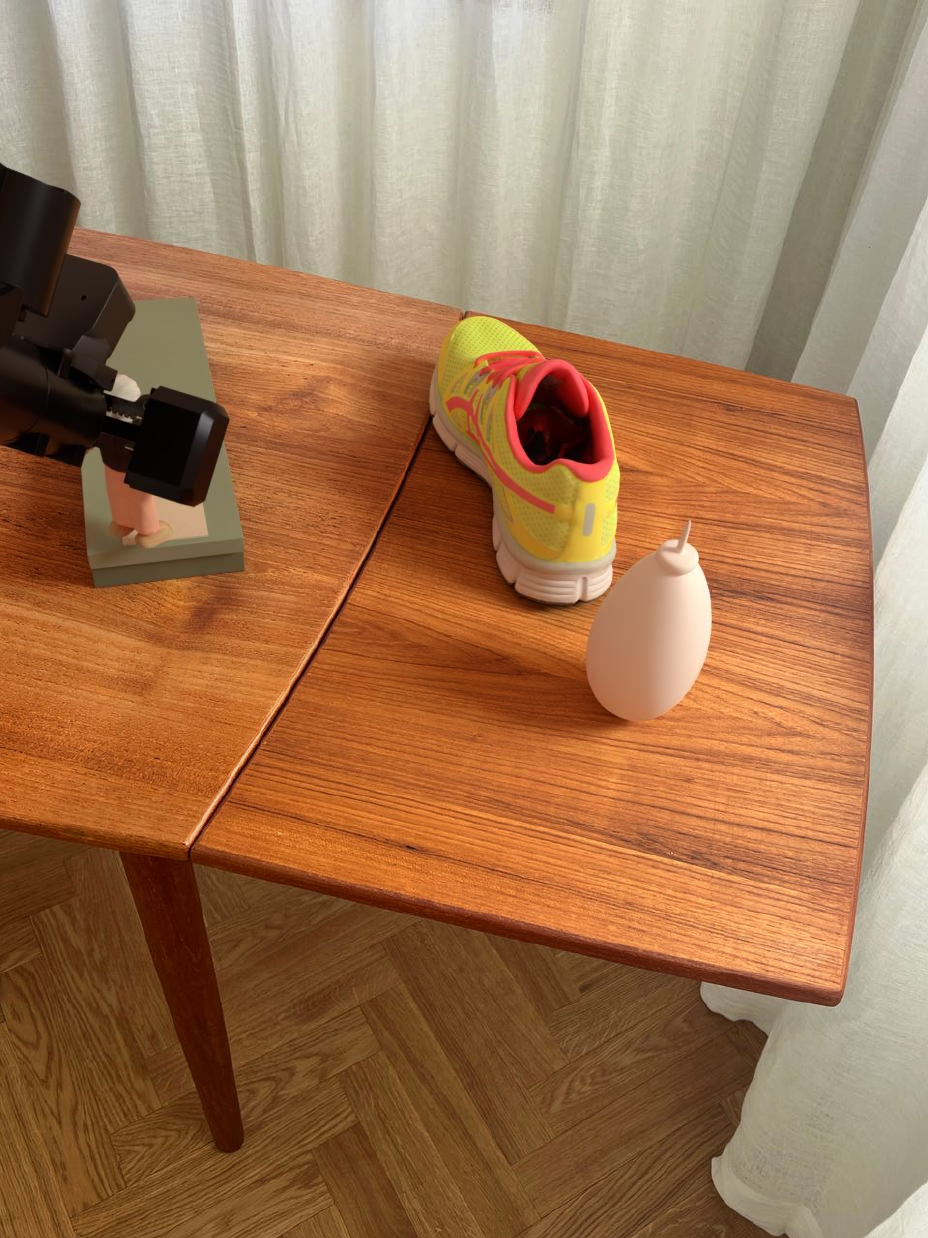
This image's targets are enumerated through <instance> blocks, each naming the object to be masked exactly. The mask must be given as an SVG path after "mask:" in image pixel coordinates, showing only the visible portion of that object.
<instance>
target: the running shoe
mask: <svg viewBox="0 0 928 1238" xmlns="http://www.w3.org/2000/svg"><path fill="white" fill-rule="evenodd" d="M431 376H432V377H431V381H430V387H429V397H428V398H429V400H428V403H429V416H430V418H432V424H433V429H434V430H435V434H436V435H437V436H438V437H439V438H440V440H441V442H442V443H443V445H444V447H445V448H446V449H447V450H448V451H449V452H450V453H454V455H455V457H457V461H458V463H460V464H461V465H462V466H463V467H465V468H466V469H469V470H470V471H472V472H473V473H475V475H476V477H478V478H479V479H480V480H481V481H482V482H483V483H484V484H486V486H487V487H488V488H489V490H491V491H492V500H493V502H492V503H493V507H492V508H493V518H492V548H493V552H494V553H496V554H495V559H496V561H495V562H496V566H497V569H498V571H499V572H500V575H501V576H502V578H503V580H504V581H505V582H506V583H507V584H508V585H510V586H512V585H514V589H515V593H516V594H517V595H519V596H522V597H523V598H526V599H529V600H531V601H534V602H537V603H541V604H545V605H551V606H552V605H553V606H560V607H561V606H573V605H575V603H576V602H577V601H579V602H581V603H583V604H589V603H591V602H594V601H595V600H598V599H599V598H601V597H602V596H604V595H605V593H606V592H607V591H608V589H609V588H610V586H611V584H612V583H613V582H612V581H613V576H614V575H613V574H614V573H613V572H614V571H613V565H612V563H613V562H614V561H615V558H616V555H617V542H616V537H615V536H616V532H617V527H618V498H619V494H620V493H619V492H620V480H621V471H620V467H619V464H618V461H617V460H618V459H617V454H616V448H615V440H614V434H613V430H612V426H611V423H610V418H609V413H608V410H607V407H606V404H605V401H604V400H603V398H602V395H600V393H599V391H598V389H597V388H596V387H595V386H594V385H593V383H592V382H590V381H589V380H588V379H587V378H586V377H584V375H583V374H582V373H581V372H580V371H578V369H576V368H575V367H574V366H573V365H572V364H571V363H570V362H568V361H565V360H563V359H559V358H558V359H557V358H554V359H553V358H552V359H546V358H545V357H544V355H543V354H542V353H541V351H540V350H539V349H538V348H537V347H536V346H535V345H534V344H533V343H532V342H531V341H529V340H528V339H527V338H526V337H524V336H523V335H522V334H520V332H518V331H517V330H515V328H512V327H511V326H510V325H508V324H506V323H504V322H502V321H500V320H499V319H496V318H494V317H489V316H485V315H478V316H477V315H475V316H469V317H466V318H462V320H459V321H458V322H456V323H455V324H454V325H453V326H452V328H450V330H449V331H448V333H447V334H446V335H445V337H444V338H443V341H442V343H441V346H440V350H439V354H438V356H437V359H436V362H435V366H434V369H433V372H432V375H431Z"/></svg>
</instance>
